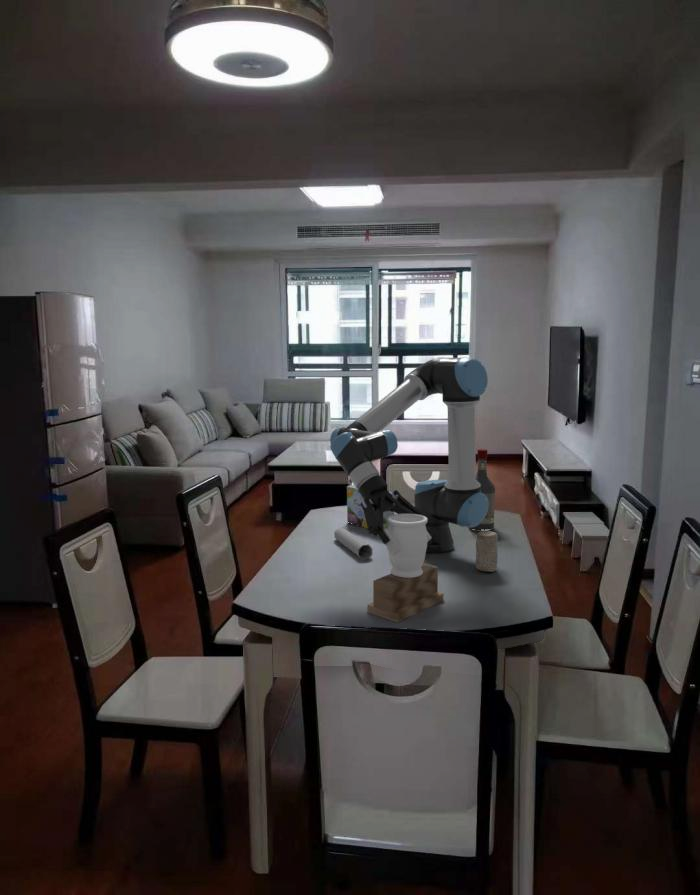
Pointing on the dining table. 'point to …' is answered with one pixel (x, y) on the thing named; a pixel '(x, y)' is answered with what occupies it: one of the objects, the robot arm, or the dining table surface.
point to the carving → (486, 551)
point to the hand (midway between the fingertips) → (413, 546)
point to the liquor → (485, 491)
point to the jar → (408, 544)
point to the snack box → (360, 509)
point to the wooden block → (405, 594)
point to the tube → (353, 543)
